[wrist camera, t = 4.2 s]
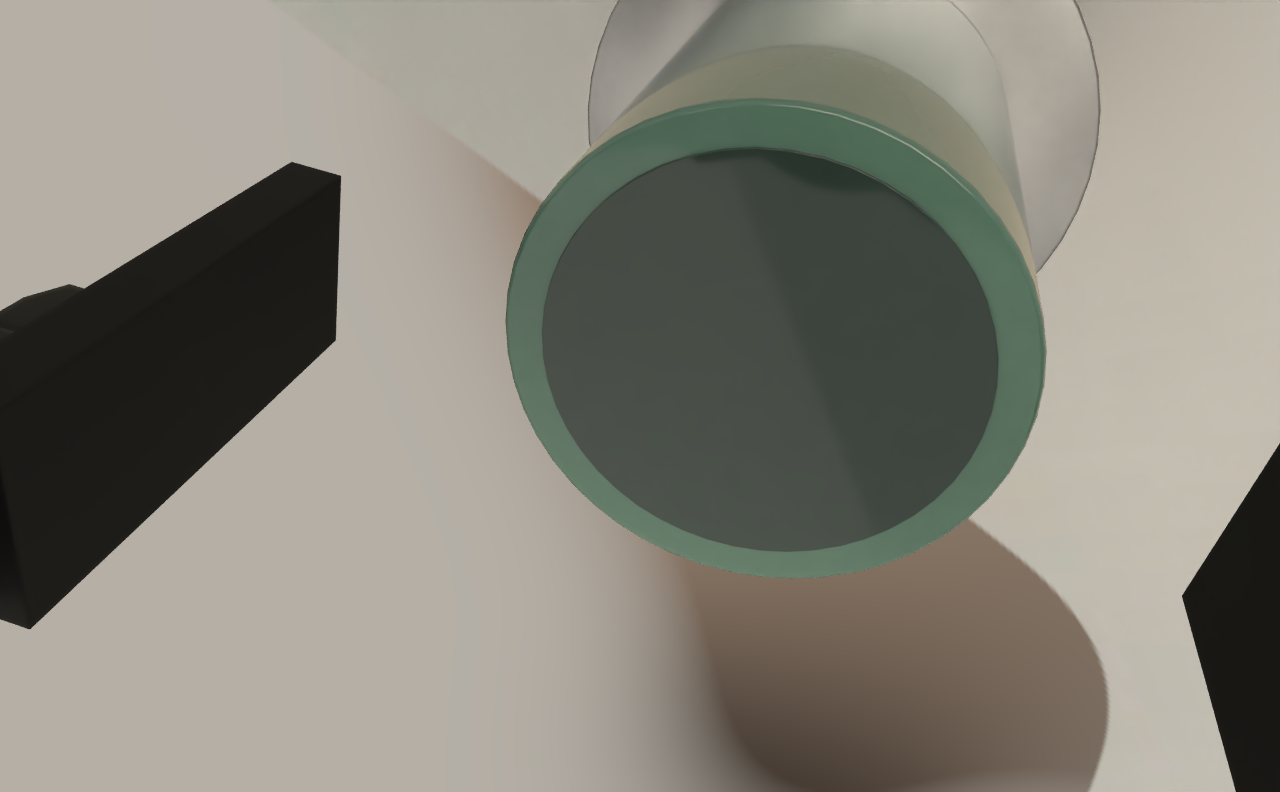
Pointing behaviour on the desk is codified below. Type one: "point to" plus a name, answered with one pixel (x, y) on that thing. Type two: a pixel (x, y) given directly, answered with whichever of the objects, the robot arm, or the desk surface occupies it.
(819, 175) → the tumbler
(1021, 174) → the tan and grey cylinder
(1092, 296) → the desk surface
